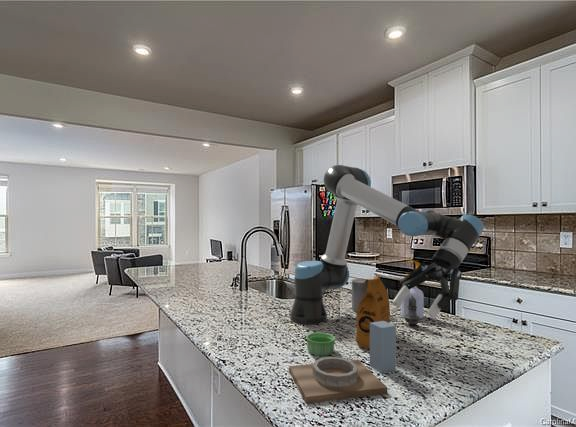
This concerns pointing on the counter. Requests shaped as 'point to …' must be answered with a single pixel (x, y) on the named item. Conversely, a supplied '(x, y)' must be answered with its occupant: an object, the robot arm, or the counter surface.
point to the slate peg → (383, 346)
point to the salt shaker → (412, 314)
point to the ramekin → (320, 343)
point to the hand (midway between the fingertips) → (411, 309)
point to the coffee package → (371, 310)
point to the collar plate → (334, 392)
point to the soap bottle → (417, 295)
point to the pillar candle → (358, 292)
